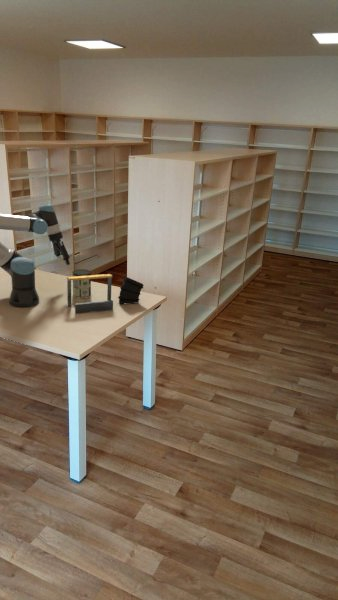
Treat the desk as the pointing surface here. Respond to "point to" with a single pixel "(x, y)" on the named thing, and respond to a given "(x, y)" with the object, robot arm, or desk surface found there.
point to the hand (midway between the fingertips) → (66, 268)
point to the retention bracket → (91, 305)
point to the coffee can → (82, 284)
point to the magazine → (130, 291)
